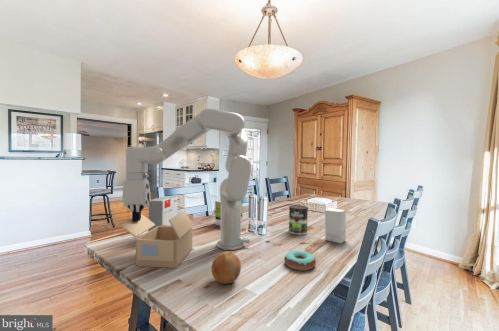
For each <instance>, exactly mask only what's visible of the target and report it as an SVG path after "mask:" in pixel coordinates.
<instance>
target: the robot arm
mask: <svg viewBox="0 0 499 331" xmlns="http://www.w3.org/2000/svg"><path fill="white" fill-rule="evenodd" d="M245 125H246V123H245V119H244V118H243V116H242V115H241V114H239V113H236V112H234V111H233V112H232V111H226V110H221V109H214V108H204V109H202V110H201V111H200V112H199V113H198V114H196V115H195V116H194V117H192V118H191V119H189V120H188V121H186V122H184V123H183V124H182V125H179V127H177V128H176V129H175V130H174V131H173V132H172V133H171V134H170V135H169V136H168V137H166V138H165V139H164V140H162V141H161V142H159V143H157V144H156V145H155V146H146V147H145V146H144V147H143V146H127V147H126V149H125V180H124V182H123V186H122V204H123V207H124V208H128V209H129V210H130V212H131V214H132V215H131V218H132V219H133V222H138V221H140V219H141V214H142V211H143V210H144V209H145V208H149V206H150V205H149V202H150V201H151V200H152V196H151V187H150V182H149V179H147V178H150V175H149V173H147V164H148V165H160V164H162V163H163V162H164V161H166V160H167V159H169V158H170V157H172V156H173V155H174V154H176V153H177V152H179V151H180V150H182V149H184V148H187V147H188V146H189V145H192V144H193V143H194V142H196V141H197V140H198V139H200V138H201V137H203V136H204V135H206V134H207V133H208V132H209V131H212V130H216V131H222V132H223V133H224V134H225V135H226V136H227V137H228V141H229V142H228V151H227V155H226V161H225V170H226V172H227V173H228V176H227V177H226V178H224V179H223V180H222V182H221V183H220V185H219V198H220V202H221V215H220V226H219V228H220V232H219V233H220V235H219V238H220V239H219V241H217V242H216V247H217V248H219V249H221V250H224V251H234V250H236V251H237V250H240V249H242V248H243V247H244V246H245V244H251V238H249V237H244V236H243V234H242V233H241V231H242V229H241V228H242V226H241V225H242V222H241V200H242V201H243V199H244V198H245V197H246V195H247V193H248V189H249V184H250V179H251V178H250V177H251V173H252V164H251V160H250V159H249V157H247V153H248V136H247V134H246V132H245V130H244V128H245Z"/></svg>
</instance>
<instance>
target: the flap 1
mask: <svg viewBox="0 0 499 331" xmlns="http://www.w3.org/2000/svg"><path fill="white" fill-rule="evenodd" d="M118 225H119V226H120V227H121V228H123V229H124V230H126V231H127V233H129V234H130V235H132V237H134V238H136V237H137V238H138V237H139V236H140V235H141V234H142V235H143V233H146V232H148V229H150V228H152V227H153V226H155V224H154V223H153V222H152V221H150V220H149V217H147V216H145V215H144V214H143V213H141V219H140V221H138V222H133V219H132V217H131V218H129V219H126V220H124V221H121V222H120V223H119V224H118Z"/></svg>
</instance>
